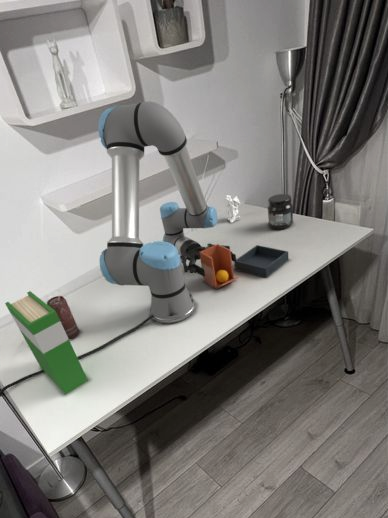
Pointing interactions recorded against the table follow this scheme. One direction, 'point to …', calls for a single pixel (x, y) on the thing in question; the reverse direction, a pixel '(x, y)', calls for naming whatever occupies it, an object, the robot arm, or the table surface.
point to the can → (64, 316)
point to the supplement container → (280, 211)
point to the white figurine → (232, 208)
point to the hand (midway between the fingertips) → (219, 265)
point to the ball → (222, 276)
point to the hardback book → (48, 341)
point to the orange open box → (216, 264)
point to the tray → (261, 261)
